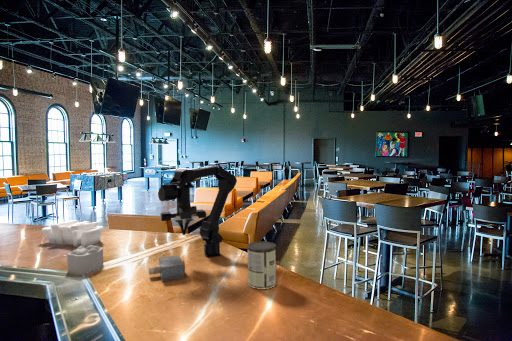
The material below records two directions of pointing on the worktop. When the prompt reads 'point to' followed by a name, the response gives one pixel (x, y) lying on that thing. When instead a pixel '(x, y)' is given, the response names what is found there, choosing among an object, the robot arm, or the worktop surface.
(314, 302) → the worktop surface
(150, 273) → the pin
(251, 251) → the coffee can
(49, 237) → the wavy white extrusion
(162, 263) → the block
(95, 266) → the lumpy-topped squat cylinder
